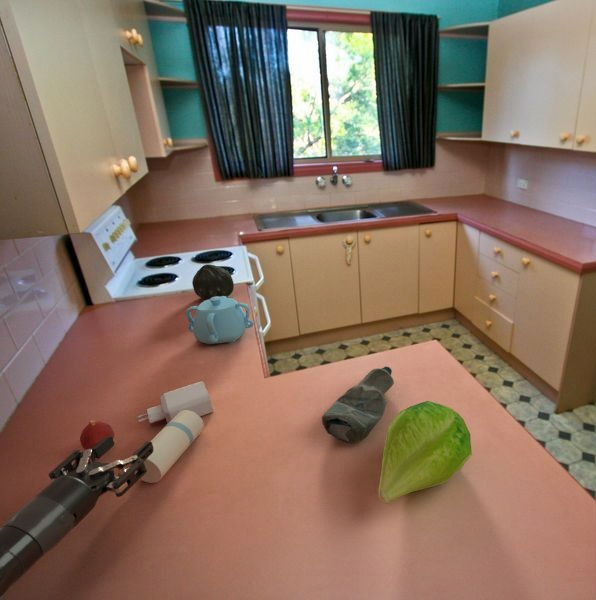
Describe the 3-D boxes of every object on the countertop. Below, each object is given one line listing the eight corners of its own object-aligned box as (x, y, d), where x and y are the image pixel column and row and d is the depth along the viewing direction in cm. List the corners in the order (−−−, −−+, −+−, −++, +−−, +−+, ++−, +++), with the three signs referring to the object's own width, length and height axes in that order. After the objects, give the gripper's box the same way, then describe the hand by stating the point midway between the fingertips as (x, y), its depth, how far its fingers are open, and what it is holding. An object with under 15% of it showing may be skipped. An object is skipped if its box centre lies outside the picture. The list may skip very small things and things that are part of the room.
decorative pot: (208, 355, 126) (198, 314, 121) (187, 337, 136) (177, 298, 131) (258, 336, 137) (252, 297, 131) (235, 320, 147) (228, 284, 141)
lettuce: (430, 550, 70) (366, 510, 80) (494, 450, 84) (432, 426, 94) (406, 494, 63) (339, 457, 73) (480, 395, 77) (415, 375, 87)
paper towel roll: (123, 462, 81) (171, 414, 93) (144, 486, 83) (188, 436, 95) (146, 453, 79) (192, 406, 91) (168, 479, 81) (210, 429, 93)
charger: (138, 417, 100) (206, 394, 108) (142, 439, 93) (214, 413, 101) (133, 400, 98) (202, 379, 106) (136, 422, 91) (210, 397, 99)
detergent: (364, 454, 87) (414, 386, 107) (359, 426, 84) (411, 362, 105) (313, 439, 93) (369, 378, 113) (306, 413, 90) (365, 355, 111)
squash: (230, 273, 176) (200, 253, 165) (246, 283, 166) (216, 262, 155) (209, 301, 174) (177, 282, 163) (224, 313, 164) (191, 294, 153)
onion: (84, 450, 90) (71, 420, 87) (114, 437, 94) (103, 407, 91) (89, 465, 87) (76, 434, 83) (121, 450, 90) (110, 420, 87)
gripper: (22, 526, 68) (105, 453, 82) (97, 540, 65) (169, 462, 80) (3, 491, 65) (93, 422, 79) (81, 505, 62) (159, 430, 77)
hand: (131, 442), depth 79 cm, fingers open, 8 cm apart
